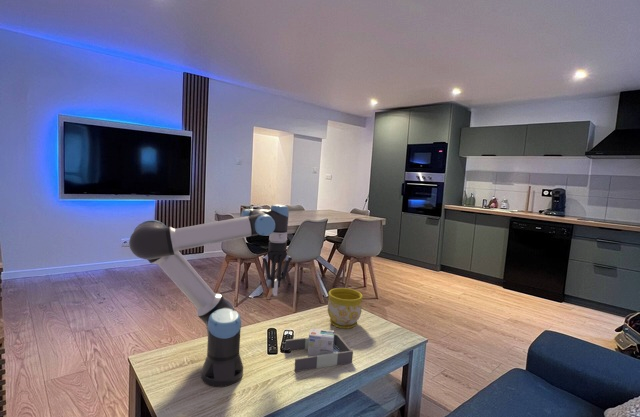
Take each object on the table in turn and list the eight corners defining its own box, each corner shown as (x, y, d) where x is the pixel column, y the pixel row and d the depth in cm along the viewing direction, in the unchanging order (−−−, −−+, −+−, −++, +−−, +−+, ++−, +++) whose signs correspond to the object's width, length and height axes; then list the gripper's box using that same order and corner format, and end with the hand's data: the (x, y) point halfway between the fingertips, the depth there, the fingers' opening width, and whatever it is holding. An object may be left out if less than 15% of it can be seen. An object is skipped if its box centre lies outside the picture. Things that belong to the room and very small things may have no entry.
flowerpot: (343, 335, 163) (346, 303, 161) (319, 321, 176) (321, 291, 174) (367, 325, 175) (370, 295, 173) (342, 313, 188) (345, 285, 186)
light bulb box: (332, 353, 145) (334, 330, 144) (332, 362, 139) (334, 337, 138) (308, 350, 146) (310, 327, 145) (306, 359, 140) (308, 334, 138)
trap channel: (295, 371, 130) (295, 359, 130) (284, 350, 144) (285, 340, 144) (352, 362, 139) (353, 351, 139) (336, 344, 154) (337, 333, 153)
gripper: (264, 243, 135) (261, 299, 138) (295, 243, 140) (291, 296, 142) (261, 239, 142) (258, 292, 145) (290, 239, 147) (286, 290, 149)
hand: (274, 294), depth 144 cm, fingers closed
